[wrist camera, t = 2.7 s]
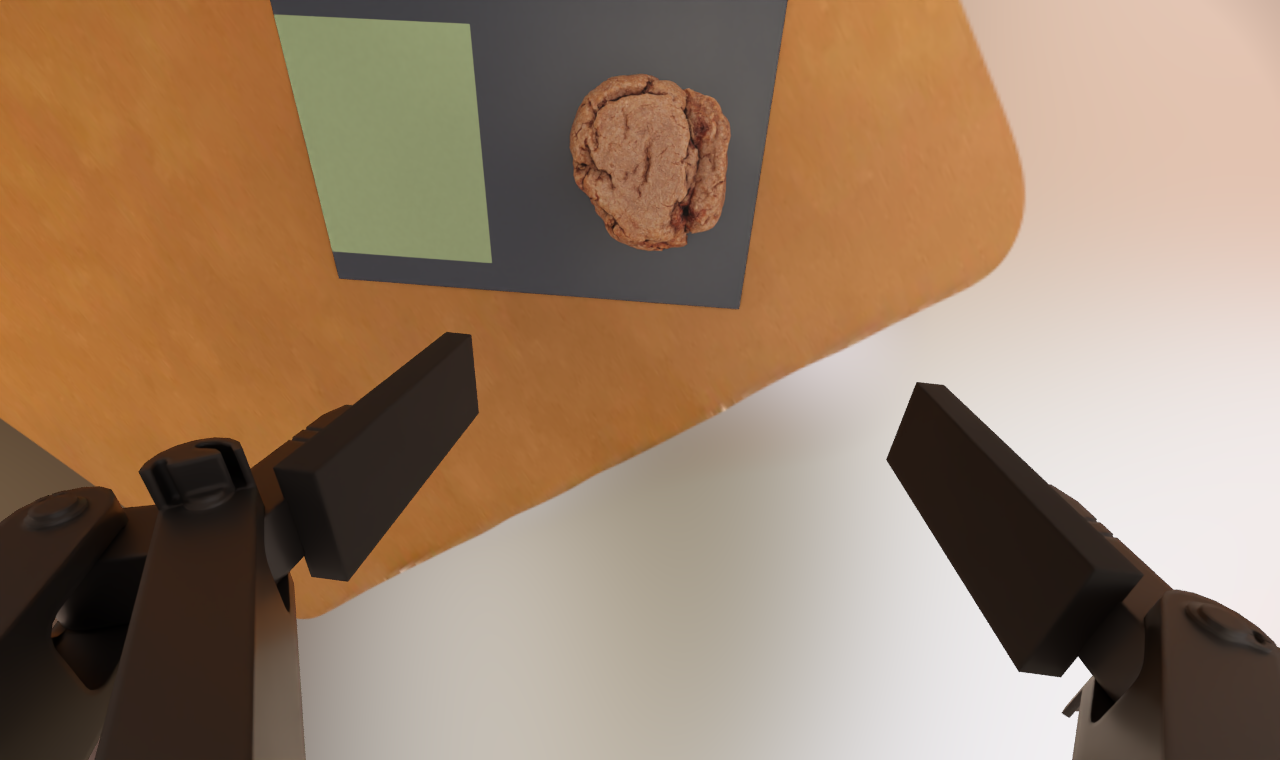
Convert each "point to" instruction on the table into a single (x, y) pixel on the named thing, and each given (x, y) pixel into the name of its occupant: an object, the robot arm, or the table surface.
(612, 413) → the table surface
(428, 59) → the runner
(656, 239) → the cookie
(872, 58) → the table surface
